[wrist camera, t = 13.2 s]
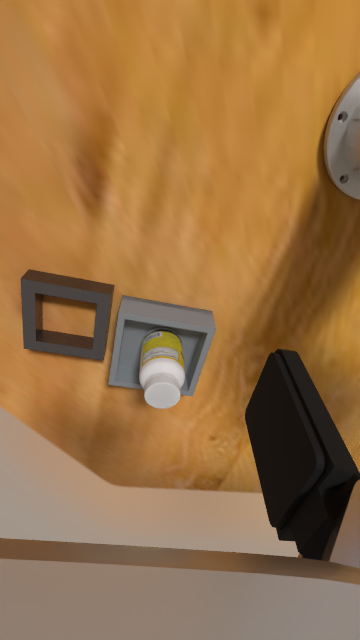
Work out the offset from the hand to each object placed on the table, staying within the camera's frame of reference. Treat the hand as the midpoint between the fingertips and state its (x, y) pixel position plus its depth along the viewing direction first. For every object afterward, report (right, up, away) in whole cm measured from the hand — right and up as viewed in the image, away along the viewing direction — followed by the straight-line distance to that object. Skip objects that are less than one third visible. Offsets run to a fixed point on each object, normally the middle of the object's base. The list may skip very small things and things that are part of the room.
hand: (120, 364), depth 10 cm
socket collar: (-12, +2, +31) cm, 33 cm away
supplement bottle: (-1, -2, +33) cm, 33 cm away
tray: (-1, -1, +34) cm, 34 cm away
